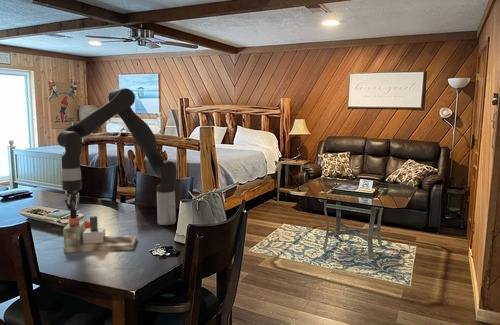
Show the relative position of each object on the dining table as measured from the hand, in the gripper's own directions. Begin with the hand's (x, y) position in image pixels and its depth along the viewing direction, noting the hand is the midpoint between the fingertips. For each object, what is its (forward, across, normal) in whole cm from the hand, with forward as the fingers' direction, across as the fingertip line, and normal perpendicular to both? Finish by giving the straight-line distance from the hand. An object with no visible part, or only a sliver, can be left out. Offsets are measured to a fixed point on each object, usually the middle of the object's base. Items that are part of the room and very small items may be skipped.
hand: (73, 217), depth 164 cm
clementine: (+13, +16, 0) cm, 21 cm away
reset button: (+4, 0, 0) cm, 4 cm away
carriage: (+11, 0, -8) cm, 14 cm away
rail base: (+13, 0, -11) cm, 17 cm away
